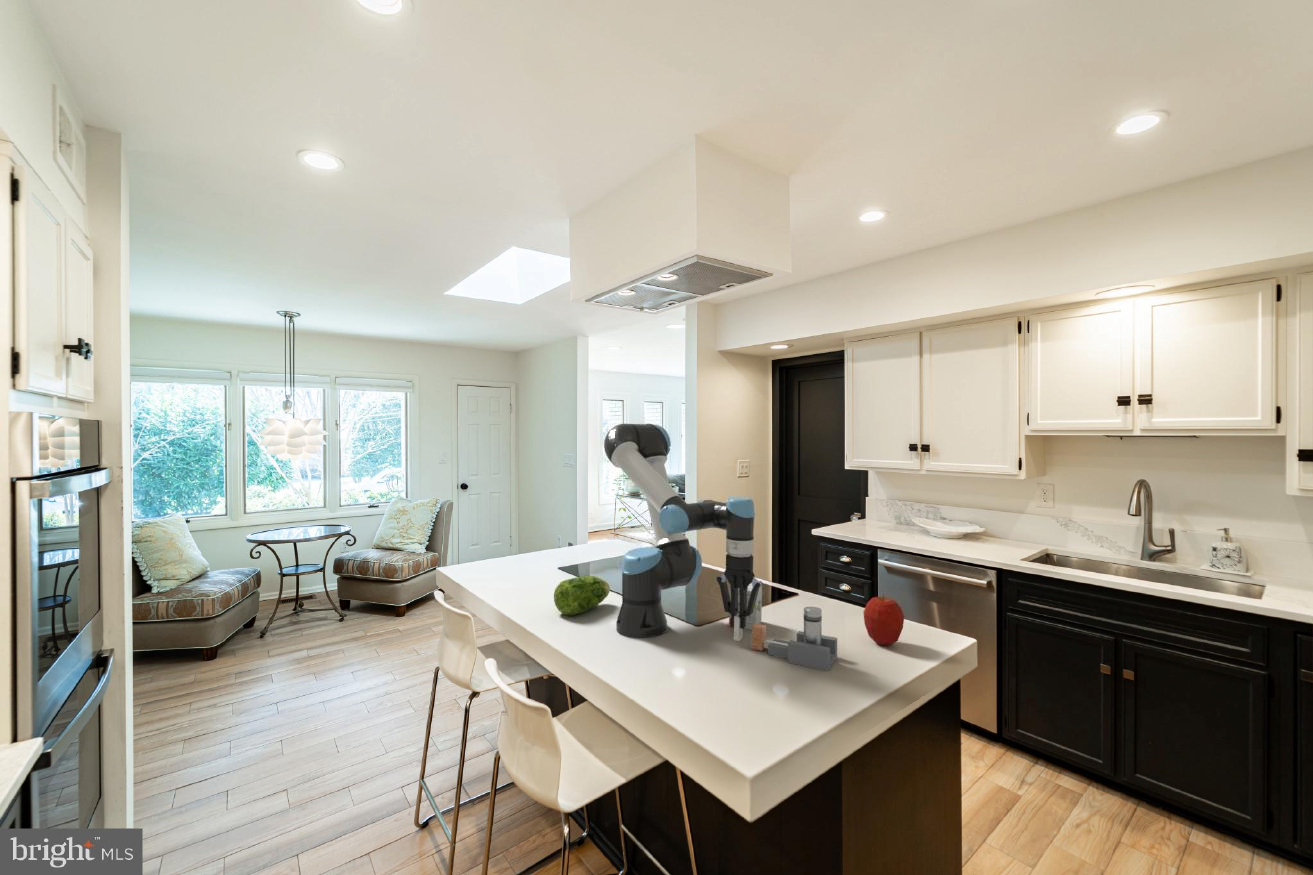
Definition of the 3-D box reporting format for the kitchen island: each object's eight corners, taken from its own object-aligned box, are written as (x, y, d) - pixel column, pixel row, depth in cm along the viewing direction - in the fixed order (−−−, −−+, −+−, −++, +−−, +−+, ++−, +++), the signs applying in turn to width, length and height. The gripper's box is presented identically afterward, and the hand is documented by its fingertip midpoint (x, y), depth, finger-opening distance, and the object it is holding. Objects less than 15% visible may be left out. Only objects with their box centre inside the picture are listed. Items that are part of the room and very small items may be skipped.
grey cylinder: (801, 660, 142) (801, 610, 142) (806, 655, 146) (806, 605, 146) (819, 664, 140) (819, 612, 140) (823, 658, 143) (823, 608, 143)
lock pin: (751, 648, 149) (751, 626, 149) (755, 645, 152) (755, 623, 152) (799, 658, 143) (799, 635, 143) (802, 654, 145) (802, 631, 145)
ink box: (728, 626, 168) (728, 587, 168) (735, 618, 176) (735, 580, 176) (756, 630, 164) (756, 590, 164) (762, 621, 172) (762, 583, 172)
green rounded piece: (618, 605, 188) (618, 572, 188) (573, 621, 172) (573, 585, 172) (594, 599, 195) (594, 567, 195) (549, 614, 179) (549, 579, 179)
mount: (765, 657, 144) (765, 638, 144) (777, 645, 152) (777, 627, 152) (827, 670, 136) (827, 650, 136) (837, 657, 144) (837, 637, 144)
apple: (860, 646, 152) (860, 595, 152) (867, 634, 161) (867, 586, 160) (901, 653, 147) (901, 601, 147) (906, 641, 155) (906, 591, 155)
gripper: (712, 553, 153) (710, 638, 153) (757, 559, 146) (756, 648, 147) (723, 548, 159) (721, 630, 160) (766, 554, 153) (765, 639, 153)
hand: (738, 638), depth 153 cm, fingers closed
